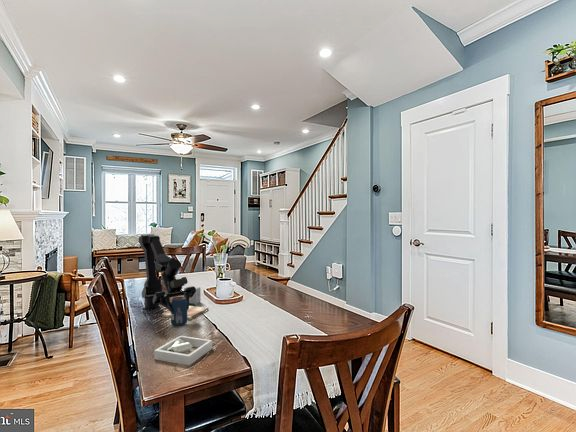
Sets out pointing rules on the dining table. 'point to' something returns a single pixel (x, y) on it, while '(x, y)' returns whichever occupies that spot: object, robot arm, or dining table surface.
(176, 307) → the soda can
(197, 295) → the medicine box
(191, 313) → the subfloor panel
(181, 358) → the frame
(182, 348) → the pipe fitting
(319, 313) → the dining table surface
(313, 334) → the dining table surface
